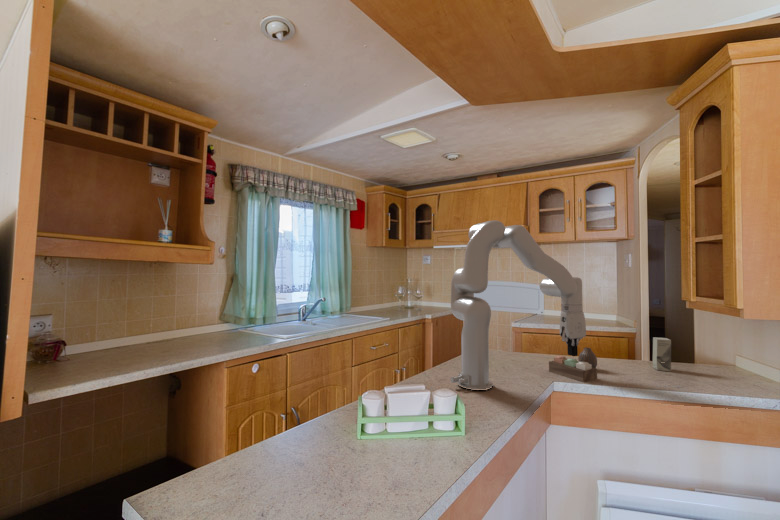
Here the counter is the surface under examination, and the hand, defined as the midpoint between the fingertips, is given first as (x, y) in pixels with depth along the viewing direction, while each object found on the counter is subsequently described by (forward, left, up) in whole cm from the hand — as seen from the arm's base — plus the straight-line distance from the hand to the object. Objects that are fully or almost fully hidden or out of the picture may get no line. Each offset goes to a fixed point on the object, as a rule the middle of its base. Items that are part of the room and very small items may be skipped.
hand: (572, 355), depth 141 cm
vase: (+13, +3, -8) cm, 15 cm away
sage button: (0, 0, -5) cm, 5 cm away
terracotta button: (0, +5, -5) cm, 7 cm away
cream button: (0, -5, -5) cm, 7 cm away
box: (+40, -11, -8) cm, 42 cm away
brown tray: (0, 0, -8) cm, 8 cm away
